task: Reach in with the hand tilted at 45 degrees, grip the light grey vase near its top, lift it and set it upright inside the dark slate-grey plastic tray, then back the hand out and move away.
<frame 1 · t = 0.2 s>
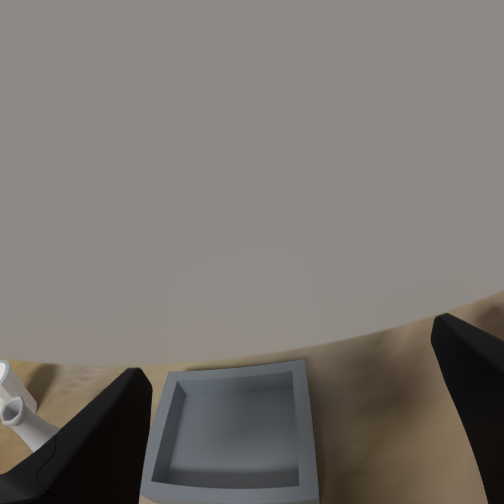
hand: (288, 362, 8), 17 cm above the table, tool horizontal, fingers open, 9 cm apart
light grey vase: (79, 468, 18), on the table
tray: (235, 443, 21), on the table
white cup: (24, 412, 25), on the table
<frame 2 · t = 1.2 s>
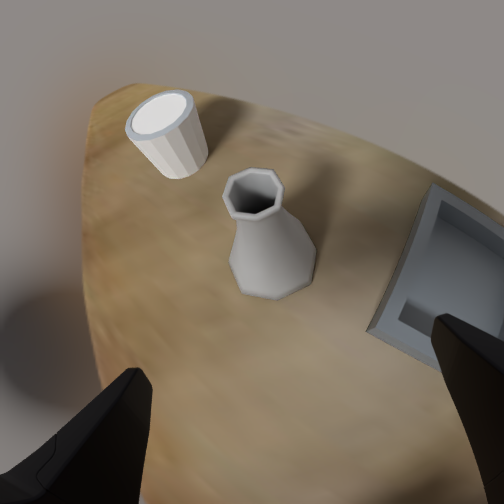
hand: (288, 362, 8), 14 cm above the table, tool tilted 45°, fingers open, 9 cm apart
light grey vase: (272, 258, 24), on the table
tray: (460, 294, 20), on the table
white cup: (183, 158, 29), on the table
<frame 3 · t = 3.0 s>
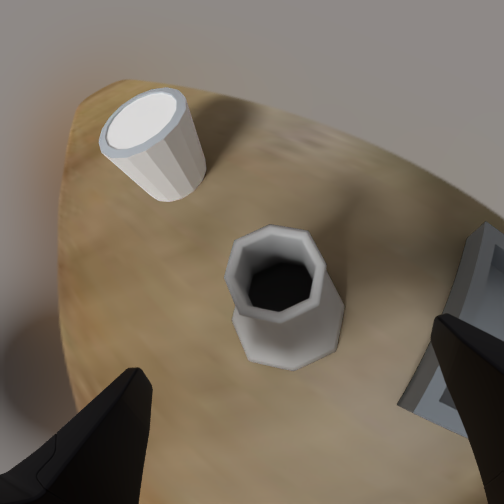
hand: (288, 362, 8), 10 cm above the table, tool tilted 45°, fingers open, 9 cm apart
light grey vase: (288, 315, 18), on the table
tray: (500, 353, 14), on the table
white cup: (176, 174, 24), on the table
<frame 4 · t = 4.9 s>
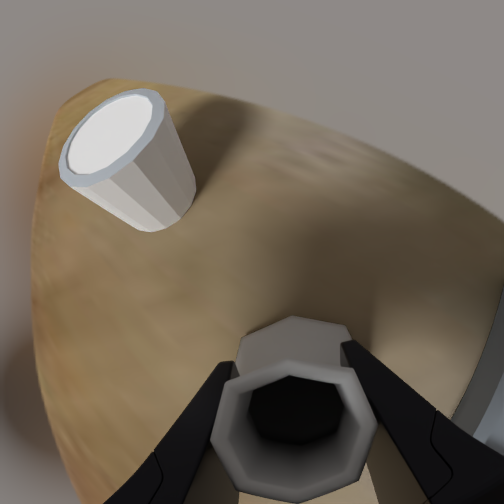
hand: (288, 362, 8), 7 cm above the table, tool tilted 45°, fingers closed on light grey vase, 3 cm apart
light grey vase: (298, 382, 14), on the table, touching gripper
white cup: (159, 196, 19), on the table
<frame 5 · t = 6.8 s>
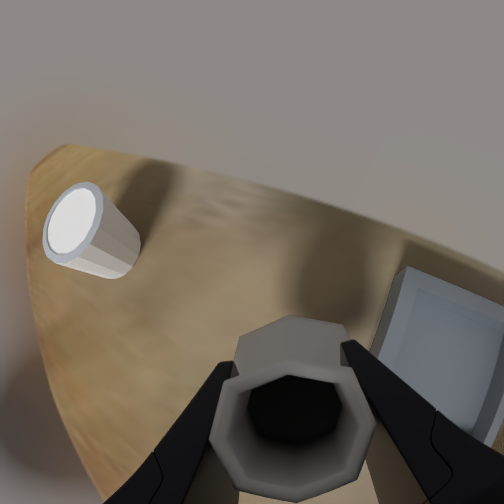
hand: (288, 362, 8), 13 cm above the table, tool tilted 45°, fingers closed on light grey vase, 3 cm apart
light grey vase: (296, 381, 14), point 6 cm above the table, touching gripper
tray: (437, 381, 17), on the table
white cup: (117, 250, 25), on the table
when the fingers open (9 cm above the table, at t = 9.0 s): light grey vase drops 1 cm, resting on tray.
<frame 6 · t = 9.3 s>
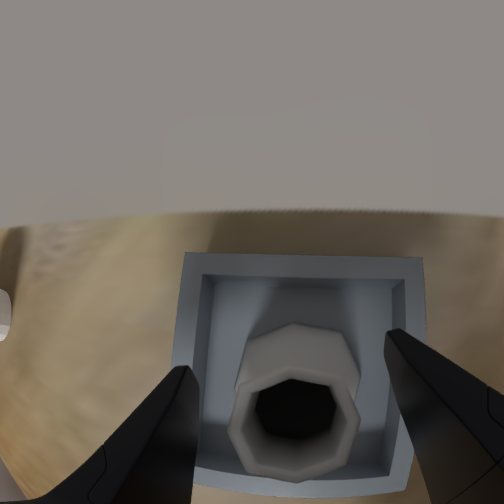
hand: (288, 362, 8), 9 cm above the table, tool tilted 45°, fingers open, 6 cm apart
light grey vase: (297, 383, 15), resting on tray
tray: (298, 378, 16), on the table
white cup: (1, 315, 21), on the table
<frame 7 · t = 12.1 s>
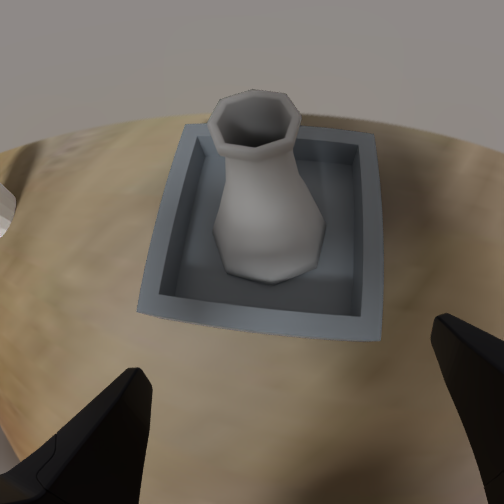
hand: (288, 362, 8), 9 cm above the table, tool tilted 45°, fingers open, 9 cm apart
light grey vase: (269, 231, 19), resting on tray
tray: (270, 230, 19), on the table
white cup: (3, 216, 23), on the table
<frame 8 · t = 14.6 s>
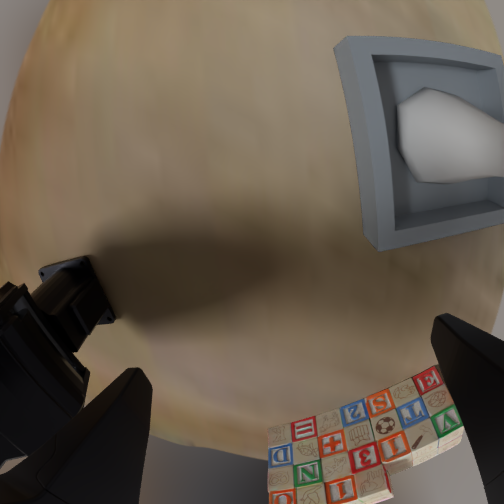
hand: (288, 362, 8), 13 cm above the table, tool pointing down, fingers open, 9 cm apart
light grey vase: (434, 135, 16), resting on tray
tray: (433, 135, 16), on the table
stack of blocks: (356, 411, 30), on the table
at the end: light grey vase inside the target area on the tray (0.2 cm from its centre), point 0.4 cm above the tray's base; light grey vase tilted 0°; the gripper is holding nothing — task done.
